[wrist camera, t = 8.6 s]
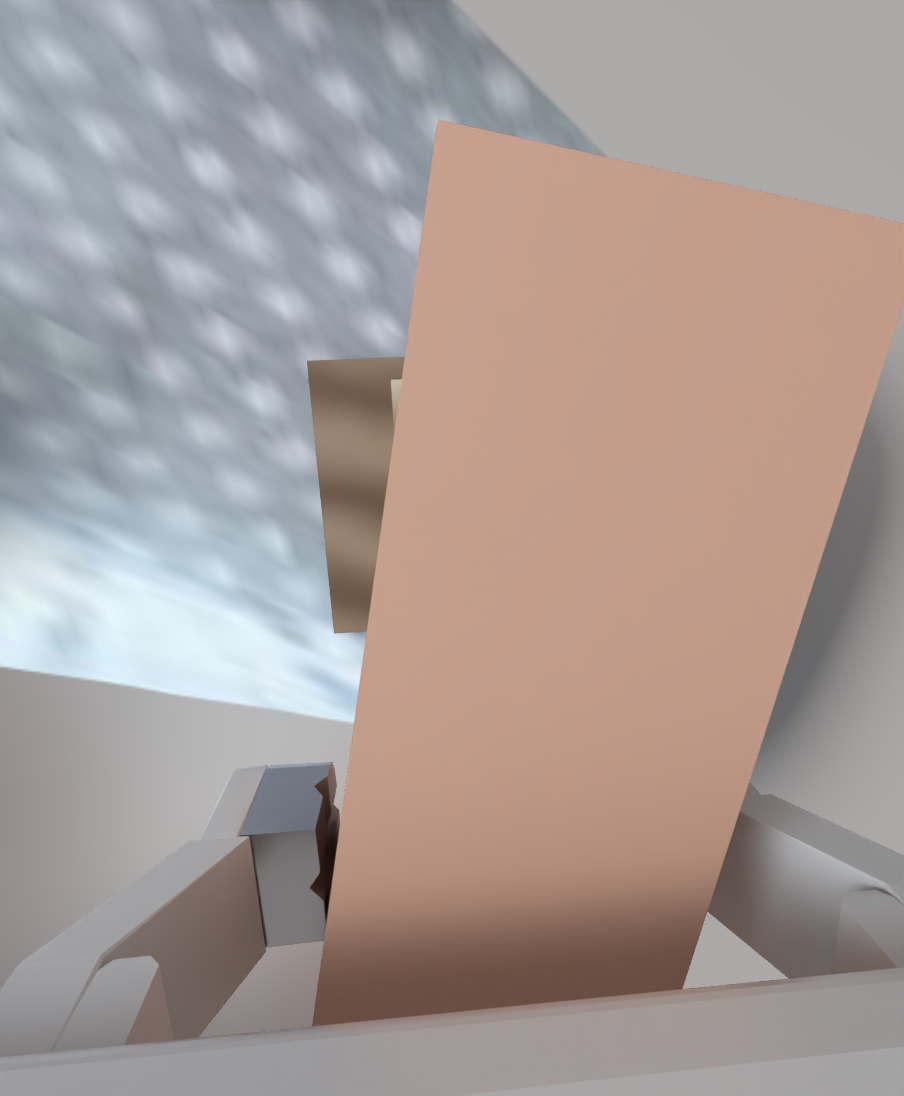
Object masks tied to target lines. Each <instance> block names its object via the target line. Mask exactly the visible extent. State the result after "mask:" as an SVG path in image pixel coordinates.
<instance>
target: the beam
mask: <svg viewBox="0 0 904 1096" xmlns="http://www.w3.org/2000/svg"><path fill="white" fill-rule="evenodd" d="M903 303H904V223H900V222H896V221H891V220H887V219H882V218H878V217H873V216H869V215H864V214H860V213H855V212H851V211H846V210H841V209H837V208H833V207H828V206H824V205H819V204H815V203H810V202H806V201H801V200H797V199H792V198H788V197H783V196H779V195H774V194H770V193H765V192H761V191H757V190H752V189H747V188H743V187H739V186H734V185H730V184H725V183H721V182H716V181H711V180H707V179H702V178H698V177H694V176H689V175H684V174H680V173H676V172H671V171H666V170H662V169H658V168H653V167H648V166H644V165H639V164H635V163H631V162H626V161H621V160H617V159H613V158H608V157H604V156H599V155H595V154H590V153H586V152H581V151H577V150H572V149H568V148H563V147H559V146H554V145H550V144H545V143H541V142H536V141H532V140H527V139H523V138H518V137H514V136H509V135H505V134H500V133H496V132H491V131H487V130H482V129H478V128H473V127H469V126H464V125H460V124H455V123H451V122H446V121H442V120H438V121H437V128H436V135H435V142H434V150H433V157H432V164H431V171H430V178H429V186H428V193H427V200H426V207H425V215H424V222H423V229H422V236H421V244H420V251H419V258H418V265H417V272H416V280H415V287H414V294H413V301H412V309H411V316H410V323H409V330H408V337H407V345H406V352H405V359H404V366H403V374H402V381H401V388H400V395H399V403H398V410H397V417H396V424H395V431H394V439H393V446H392V453H391V460H390V468H389V475H388V482H387V489H386V497H385V504H384V511H383V518H382V525H381V533H380V540H379V547H378V554H377V562H376V569H375V576H374V583H373V591H372V598H371V605H370V612H369V619H368V627H367V634H366V641H365V648H364V656H363V663H362V670H361V677H360V685H359V692H358V699H357V706H356V713H355V721H354V728H353V735H352V743H351V750H350V757H349V764H348V771H347V779H346V786H345V793H344V800H343V807H342V815H341V822H340V829H339V836H338V844H337V851H336V858H335V865H334V872H333V880H332V887H331V894H330V901H329V909H328V916H327V923H326V930H325V938H324V945H323V952H322V959H321V966H320V974H319V982H318V988H317V995H316V1003H315V1010H314V1017H313V1024H312V1026H321V1025H331V1024H341V1023H351V1022H361V1021H371V1020H381V1019H391V1018H401V1017H410V1016H420V1015H430V1014H440V1013H450V1012H460V1011H470V1010H480V1009H489V1008H499V1007H509V1006H519V1005H529V1004H539V1003H549V1002H558V1001H568V1000H578V999H588V998H598V997H608V996H618V995H627V994H637V993H648V992H658V991H668V990H678V989H682V988H683V985H684V982H685V979H686V976H687V973H688V970H689V966H690V964H691V960H692V957H693V954H694V951H695V948H696V945H697V942H698V939H699V936H700V932H701V929H702V926H703V923H704V920H705V917H706V914H707V911H708V908H709V905H710V901H711V898H712V895H713V892H714V889H715V886H716V883H717V880H718V877H719V874H720V870H721V867H722V864H723V861H724V858H725V855H726V852H727V849H728V846H729V843H730V839H731V836H732V833H733V830H734V827H735V824H736V821H737V818H738V815H739V812H740V808H741V805H742V802H743V799H744V796H745V793H746V790H747V787H748V784H749V780H750V777H751V774H752V771H753V768H754V765H755V762H756V759H757V756H758V753H759V749H760V746H761V743H762V740H763V737H764V734H765V731H766V728H767V725H768V722H769V718H770V715H771V712H772V709H773V706H774V703H775V700H776V697H777V693H778V691H779V687H780V684H781V681H782V678H783V675H784V672H785V669H786V666H787V663H788V660H789V657H790V653H791V650H792V647H793V644H794V641H795V638H796V635H797V632H798V629H799V626H800V622H801V619H802V616H803V613H804V610H805V607H806V604H807V601H808V598H809V594H810V591H811V588H812V585H813V582H814V579H815V576H816V573H817V570H818V567H819V563H820V560H821V557H822V554H823V551H824V548H825V545H826V542H827V539H828V536H829V532H830V529H831V526H832V523H833V520H834V517H835V514H836V511H837V507H838V505H839V501H840V498H841V495H842V492H843V489H844V486H845V483H846V480H847V477H848V474H849V470H850V467H851V464H852V461H853V458H854V455H855V452H856V449H857V445H858V442H859V439H860V436H861V433H862V430H863V427H864V424H865V421H866V418H867V415H868V412H869V408H870V405H871V402H872V399H873V396H874V393H875V390H876V387H877V384H878V381H879V377H880V374H881V371H882V368H883V365H884V362H885V359H886V355H887V353H888V349H889V346H890V343H891V340H892V337H893V334H894V331H895V328H896V325H897V322H898V319H899V315H900V312H901V309H902V306H903Z"/></svg>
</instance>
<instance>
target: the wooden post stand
mask: <svg viewBox="0 0 904 1096" xmlns="http://www.w3.org/2000/svg"><path fill="white" fill-rule="evenodd" d="M404 359H405V357H395V358H370V359H344V360H319V361H307V366H308V376H309V386H310V396H311V406H312V416H313V426H314V436H315V446H316V456H317V466H318V477H319V487H320V497H321V507H322V517H323V527H324V537H325V547H326V557H327V567H328V577H329V587H330V597H331V607H332V617H333V627H334V633H348V632H363V631H367V627H368V619H369V612H370V605H371V598H372V591H373V583H374V576H375V569H376V562H377V554H378V547H379V540H380V533H381V525H382V518H383V511H384V504H385V497H386V489H387V482H388V475H389V468H390V460H391V453H392V446H393V439H394V431H395V424H396V417H397V410H398V403H399V395H400V388H401V381H402V374H403V366H404Z"/></svg>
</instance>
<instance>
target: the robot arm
mask: <svg viewBox="0 0 904 1096" xmlns="http://www.w3.org/2000/svg"><path fill="white" fill-rule="evenodd" d="M336 787H337V785H336V777H335V769H334V765H333V763H332V762H326V763H307V764H287V765H271V766H267V765H266V766H253V767H241V768H237V769H236V770H234V771H233V772H232V773H231V775H230V777H229V779H228V781H227V783H226V785H225V787H224V790H223V792H222V793H221V795H220V798H219V800H218V802H217V804H216V806H215V808H214V810H213V812H212V814H211V816H210V818H209V820H208V822H207V825H206V826H205V829H204V831H203V833H202V835H201V837H200V839H199V840H194V841H188V842H187V843H185V844H184V845H183V846H181V847H180V848H178V849H177V850H176V851H174V852H173V853H171V854H170V855H169V856H167V857H166V858H165V859H163V860H162V861H160V862H159V863H158V864H156V865H155V866H154V867H152V868H151V869H149V870H148V871H147V872H146V873H144V874H142V875H141V876H140V877H138V878H137V879H136V880H134V881H133V882H132V883H130V884H129V885H127V886H126V887H125V888H123V889H122V890H120V891H119V892H118V893H116V894H115V895H113V896H112V897H111V898H110V899H108V900H107V901H105V902H104V903H102V904H101V905H100V906H98V907H97V908H96V909H94V910H93V911H91V912H90V913H89V914H87V915H86V916H85V917H83V918H82V919H80V920H79V921H78V922H76V923H75V924H73V925H72V926H71V927H69V928H68V929H67V930H65V931H64V932H63V933H61V934H60V935H58V936H57V937H56V938H54V939H53V940H52V941H50V942H49V943H47V944H46V945H44V946H43V947H42V948H40V949H39V950H38V951H36V952H35V953H33V954H32V955H31V956H29V957H28V958H27V959H25V960H24V961H23V962H21V963H20V964H18V966H17V967H16V969H15V970H14V971H13V973H12V974H11V976H10V977H9V978H8V980H7V981H6V983H5V984H4V986H3V987H2V989H1V990H0V1096H904V855H902V854H900V853H897V852H895V851H893V850H891V849H888V848H886V847H884V846H882V845H880V844H878V843H876V842H873V841H871V840H869V839H867V838H865V837H863V836H860V835H858V834H856V833H854V832H852V831H850V830H847V829H845V828H843V827H841V826H839V825H836V824H834V823H832V822H830V821H828V820H825V819H823V818H821V817H819V816H817V815H815V814H813V813H810V812H808V811H806V810H804V809H801V808H799V807H797V806H795V805H793V804H791V803H789V802H786V801H784V800H782V799H780V798H778V797H776V796H773V795H771V794H768V795H761V794H760V793H759V792H758V791H757V790H756V789H755V788H754V787H753V786H752V785H751V783H750V782H749V784H748V787H747V790H746V793H745V796H744V799H743V802H742V805H741V808H740V812H739V815H738V818H737V821H736V824H735V827H734V830H733V833H732V836H731V839H730V843H729V846H728V849H727V852H726V855H725V858H724V861H723V864H722V867H721V870H720V874H719V877H718V880H717V883H716V886H715V889H714V892H713V895H712V898H711V901H710V905H709V908H708V912H709V913H710V914H711V915H713V916H714V917H715V918H716V919H717V920H718V921H720V922H721V923H722V924H723V925H725V926H726V927H727V928H728V929H729V930H731V931H732V932H733V933H734V934H735V935H737V936H738V937H739V938H740V939H742V940H743V941H744V942H745V943H746V944H748V945H749V946H750V947H751V948H752V949H754V950H755V951H756V952H757V953H759V954H760V955H761V956H762V957H763V958H765V959H766V960H767V961H768V962H770V963H771V964H772V965H773V966H774V967H776V968H777V969H778V970H779V971H780V972H782V973H783V974H784V975H785V976H786V977H788V978H789V979H780V980H770V981H760V982H750V983H740V984H729V985H719V986H709V987H699V988H689V989H678V990H668V991H658V992H648V993H637V994H627V995H618V996H608V997H598V998H588V999H578V1000H568V1001H558V1002H549V1003H539V1004H529V1005H519V1006H509V1007H499V1008H489V1009H480V1010H470V1011H460V1012H450V1013H440V1014H430V1015H420V1016H410V1017H401V1018H391V1019H381V1020H371V1021H361V1022H351V1023H341V1024H331V1025H321V1026H312V1027H302V1028H291V1029H281V1030H271V1031H261V1032H251V1033H241V1034H231V1035H221V1036H211V1037H201V1038H198V1037H199V1036H200V1034H201V1033H202V1032H203V1031H204V1029H205V1028H206V1027H207V1026H208V1024H209V1023H210V1022H211V1020H212V1019H213V1018H214V1017H215V1015H216V1014H217V1013H218V1012H219V1010H220V1009H221V1008H222V1007H223V1005H224V1004H225V1003H226V1002H227V1000H228V999H229V998H230V996H231V995H232V994H233V993H234V991H235V990H236V989H237V987H238V986H239V985H240V984H241V983H242V981H243V980H244V979H245V977H246V976H247V975H248V974H249V972H250V971H251V970H252V969H253V967H254V966H255V965H256V964H257V962H258V961H259V960H260V959H261V957H262V956H263V955H264V953H265V952H266V948H267V947H276V946H284V945H292V944H300V943H308V942H317V941H324V938H325V930H326V923H327V916H328V909H329V901H330V894H331V887H332V880H333V872H334V865H335V858H336V851H337V844H338V836H339V829H340V817H339V816H340V815H339V810H338V809H337V808H336V807H335V806H334V805H333V803H334V798H335V792H336Z"/></svg>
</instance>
